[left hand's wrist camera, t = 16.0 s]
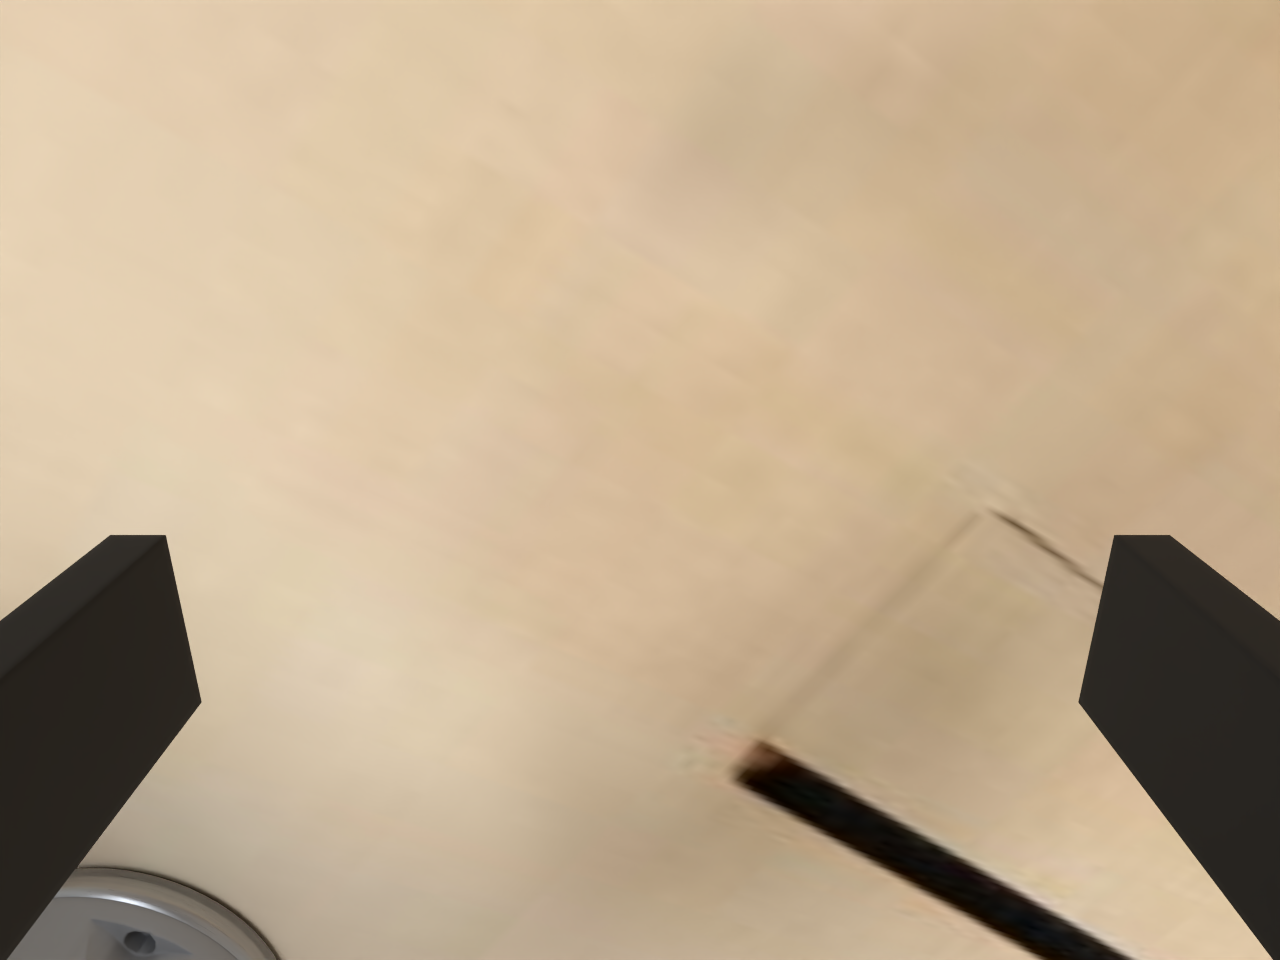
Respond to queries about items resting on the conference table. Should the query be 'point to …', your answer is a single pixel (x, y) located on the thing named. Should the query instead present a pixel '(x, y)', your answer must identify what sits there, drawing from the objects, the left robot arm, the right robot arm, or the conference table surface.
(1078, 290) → the conference table surface
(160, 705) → the left robot arm
